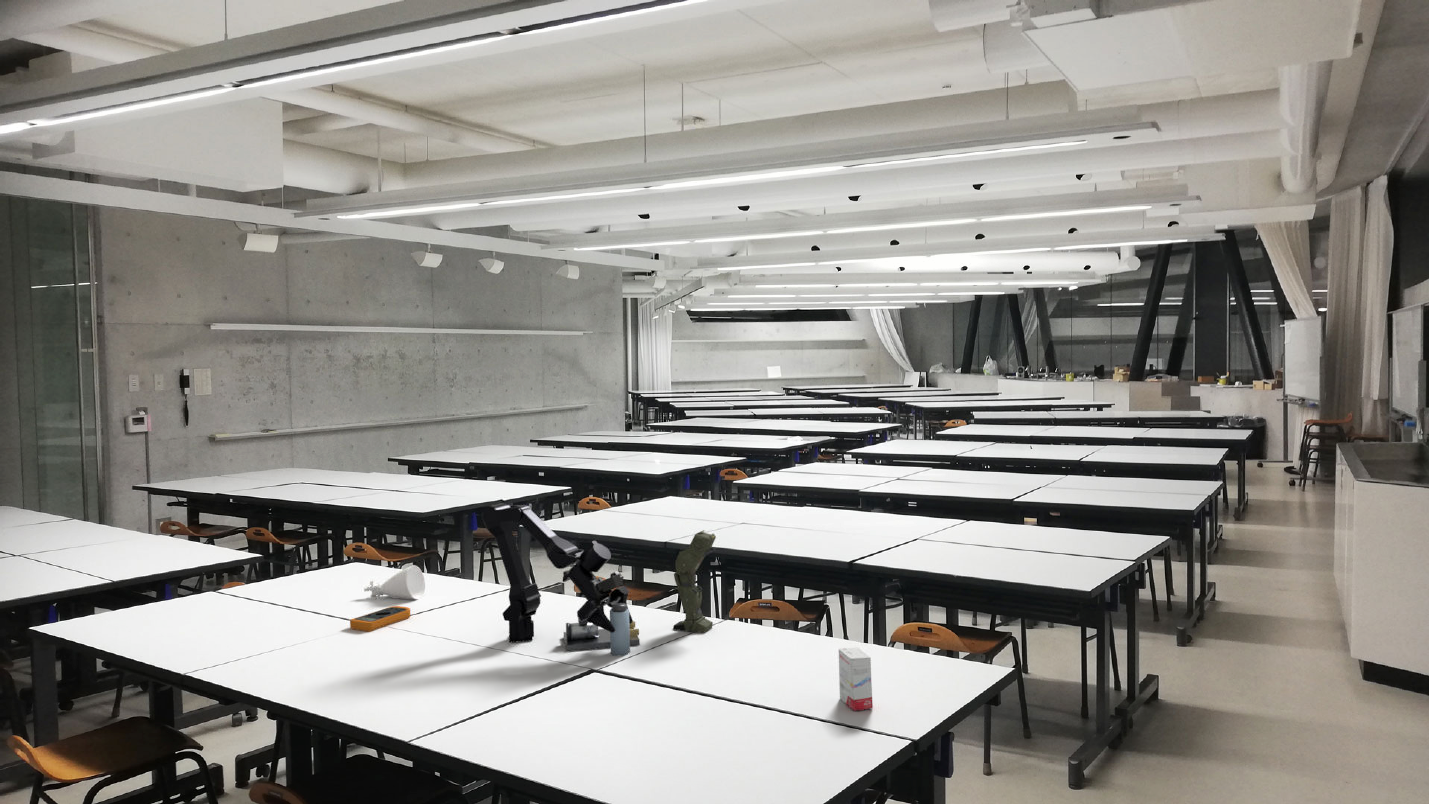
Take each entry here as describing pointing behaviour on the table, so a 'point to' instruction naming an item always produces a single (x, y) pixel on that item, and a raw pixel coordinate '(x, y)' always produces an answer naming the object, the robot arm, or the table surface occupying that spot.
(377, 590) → the rocket engine
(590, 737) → the table surface
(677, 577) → the mechanical leg
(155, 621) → the table surface
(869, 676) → the ink box
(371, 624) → the multimeter
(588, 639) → the plate
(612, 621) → the bottle
